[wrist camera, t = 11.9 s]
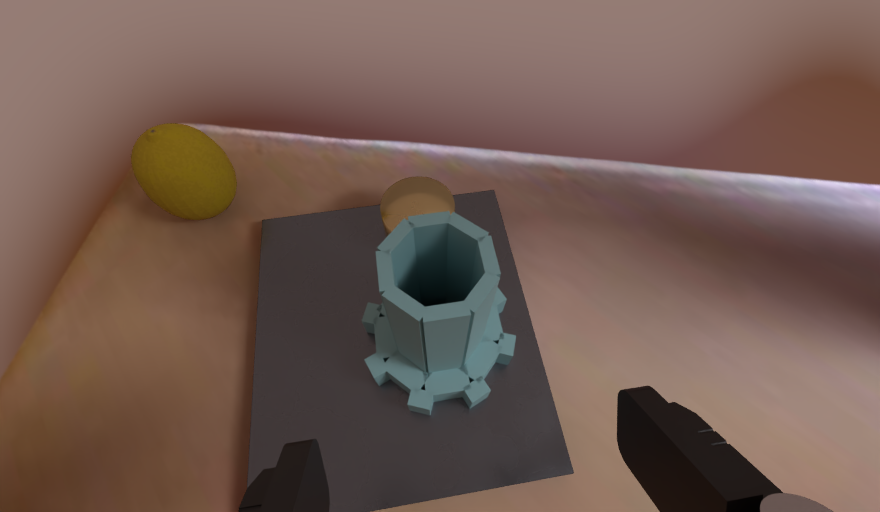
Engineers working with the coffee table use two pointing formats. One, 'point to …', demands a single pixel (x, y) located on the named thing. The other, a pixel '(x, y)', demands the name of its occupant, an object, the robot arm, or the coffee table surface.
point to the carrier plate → (385, 407)
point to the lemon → (184, 171)
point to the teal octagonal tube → (437, 311)
